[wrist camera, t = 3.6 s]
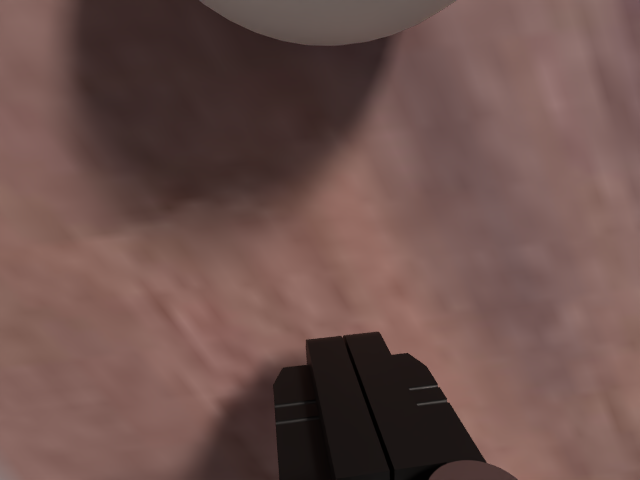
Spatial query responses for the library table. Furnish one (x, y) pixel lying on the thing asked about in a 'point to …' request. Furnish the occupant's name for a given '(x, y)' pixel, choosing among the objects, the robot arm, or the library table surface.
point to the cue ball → (327, 18)
